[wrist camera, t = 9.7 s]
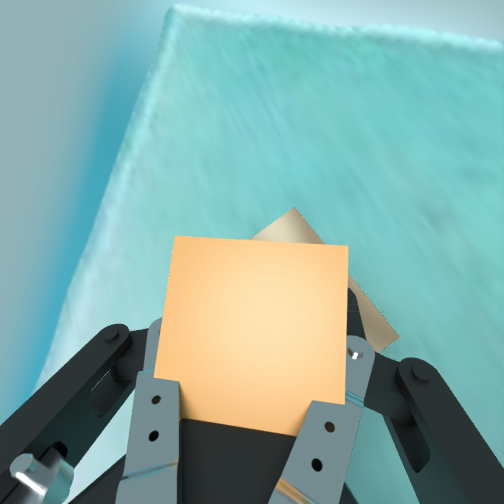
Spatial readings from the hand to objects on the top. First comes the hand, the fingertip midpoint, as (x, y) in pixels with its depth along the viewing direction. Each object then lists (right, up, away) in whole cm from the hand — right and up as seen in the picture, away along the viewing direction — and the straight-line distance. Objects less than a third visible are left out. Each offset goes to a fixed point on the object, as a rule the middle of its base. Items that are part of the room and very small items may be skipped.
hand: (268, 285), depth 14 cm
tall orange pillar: (0, -3, +4) cm, 5 cm away
